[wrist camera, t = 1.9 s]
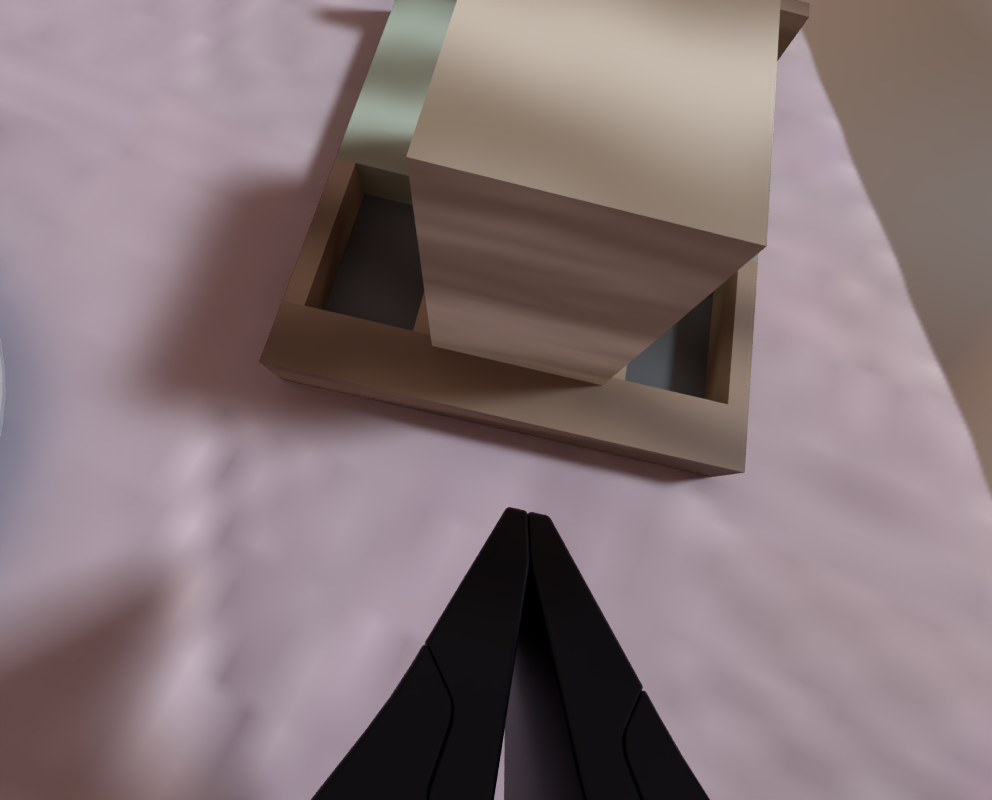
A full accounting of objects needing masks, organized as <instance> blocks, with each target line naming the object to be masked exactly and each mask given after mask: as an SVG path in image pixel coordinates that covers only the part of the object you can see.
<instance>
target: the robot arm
mask: <svg viewBox="0 0 992 800" xmlns="http://www.w3.org/2000/svg"><path fill="white" fill-rule="evenodd" d="M642 688H643V686H642V684H641V682H640V680H639V679H638V677H637V675H636V673H635V671H634V670H633V668H632V666H631V664H630V662H629V660H628V659H627V657H626V655H625V653H624V651H623V650H622V648H621V646H620V644H619V642H618V640H617V639H616V637H615V635H614V633H613V631H612V630H611V628H610V626H609V624H608V622H607V620H606V619H605V617H604V615H603V613H602V611H601V609H600V608H599V606H598V604H597V602H596V600H595V599H594V597H593V595H592V593H591V591H590V589H589V588H588V586H587V584H586V582H585V580H584V579H583V577H582V575H581V573H580V571H579V569H578V568H577V566H576V564H575V562H574V560H573V559H572V557H571V555H570V553H569V551H568V549H567V548H566V546H565V544H564V542H563V540H562V539H561V537H560V535H559V533H558V531H557V529H556V528H555V526H554V524H553V522H552V520H551V519H550V517H548V516H547V515H543V514H538V513H534V512H530V513H528V514H527V512H526V511H524V510H520V509H516V508H511V507H508V508H506V509H505V511H504V513H503V514H502V516H501V518H500V519H499V521H498V523H497V524H496V526H495V528H494V529H493V531H492V532H491V534H490V536H489V537H488V539H487V541H486V542H485V544H484V546H483V547H482V549H481V551H480V552H479V554H478V556H477V557H476V559H475V561H474V562H473V564H472V566H471V567H470V569H469V570H468V572H467V574H466V575H465V577H464V579H463V580H462V582H461V584H460V585H459V587H458V589H457V590H456V592H455V594H454V595H453V597H452V599H451V600H450V602H449V603H448V605H447V607H446V608H445V610H444V612H443V613H442V615H441V617H440V618H439V620H438V622H437V623H436V625H435V627H434V628H433V630H432V632H431V633H430V635H429V636H428V638H427V640H426V641H425V645H423V646H422V647H421V649H420V651H419V652H418V654H417V656H416V657H415V659H414V661H413V662H412V664H411V666H410V667H409V669H408V670H407V672H406V673H405V675H404V676H403V678H402V679H401V681H400V683H399V684H398V686H397V687H396V689H395V690H394V692H393V693H392V695H391V696H390V698H389V699H388V700H387V702H386V703H385V705H384V706H383V707H382V709H381V710H380V711H379V713H378V714H377V715H376V717H375V718H374V719H373V721H372V722H371V723H370V725H369V726H368V727H367V729H366V730H365V732H364V733H363V734H362V735H361V737H360V738H359V739H358V741H357V742H356V743H355V744H354V746H353V747H352V748H351V749H350V751H349V752H348V753H347V754H346V756H345V757H344V758H343V760H342V761H341V762H340V763H339V765H338V766H337V767H336V768H335V770H334V771H333V772H332V773H331V775H330V776H329V777H328V779H327V780H326V781H325V782H324V784H323V785H322V786H321V787H320V789H319V790H318V791H317V792H316V794H315V795H314V796H313V798H312V799H311V800H494V795H495V789H496V782H497V775H498V769H499V762H500V756H501V749H502V743H503V736H504V730H505V769H504V800H710V799H709V797H708V796H707V794H706V793H705V791H704V789H703V788H702V786H701V785H700V783H699V782H698V780H697V778H696V777H695V775H694V774H693V772H692V770H691V769H690V767H689V766H688V764H687V763H686V761H685V759H684V758H683V756H682V755H681V753H680V751H679V749H678V748H677V746H676V744H675V742H674V741H673V739H672V737H671V735H670V734H669V732H668V730H667V729H666V727H665V725H664V723H663V722H662V720H661V718H660V716H659V715H658V713H657V711H656V709H655V707H654V706H653V704H652V702H651V700H650V698H649V696H648V695H647V693H646V692H645V691H642Z"/></svg>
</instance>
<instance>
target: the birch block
mask: <svg viewBox="0 0 992 800" xmlns="http://www.w3.org/2000/svg"><path fill="white" fill-rule="evenodd" d="M780 2H781V0H457V2H456V5H455V8H454V11H453V14H452V17H451V20H450V23H449V27H448V30H447V33H446V36H445V39H444V42H443V45H442V48H441V51H440V54H439V57H438V60H437V63H436V67H435V70H434V73H433V76H432V79H431V82H430V85H429V88H428V91H427V94H426V97H425V100H424V104H423V107H422V110H421V113H420V116H419V119H418V122H417V125H416V128H415V131H414V134H413V137H412V141H411V144H410V147H409V150H408V153H407V156H406V159H407V166H408V174H409V181H410V188H411V196H412V203H413V210H414V218H415V225H416V232H417V240H418V247H419V254H420V262H421V269H422V276H423V284H424V291H425V298H426V306H427V313H428V320H429V328H430V335H431V342H432V346H435V347H439V348H444V349H448V350H452V351H457V352H461V353H465V354H470V355H474V356H478V357H482V358H487V359H491V360H495V361H500V362H504V363H508V364H512V365H517V366H521V367H525V368H530V369H534V370H538V371H543V372H547V373H551V374H555V375H560V376H564V377H568V378H573V379H577V380H581V381H585V382H590V383H594V384H598V385H604V384H605V383H606V382H607V381H608V380H610V379H611V378H612V377H613V376H614V375H615V374H617V373H618V372H619V371H620V370H621V369H623V368H624V367H625V366H626V365H627V364H628V363H630V362H631V361H632V360H633V359H634V358H635V357H637V356H638V355H639V354H640V353H641V352H643V351H644V350H645V349H646V348H647V347H648V346H650V345H651V344H652V343H653V342H654V341H655V340H657V339H658V338H659V337H660V336H661V335H663V334H664V333H665V332H666V331H667V330H668V329H670V328H671V327H672V326H673V325H674V324H676V323H677V322H678V321H679V320H680V319H681V318H683V317H684V316H685V315H686V314H687V313H688V312H690V311H691V310H692V309H693V308H694V307H696V306H697V305H698V304H699V303H700V302H701V301H703V300H704V299H705V298H706V297H707V296H708V295H710V294H711V293H712V292H713V291H714V290H716V289H717V288H718V287H719V286H720V285H721V284H723V283H724V282H725V281H726V280H727V279H728V278H730V277H731V276H732V275H733V274H734V273H736V272H737V271H738V270H739V269H740V268H741V267H743V266H744V265H745V264H746V263H747V262H749V261H750V260H751V259H752V258H753V257H754V256H756V255H757V254H758V253H759V252H760V251H761V250H763V249H764V248H765V247H766V246H767V231H768V213H769V196H770V178H771V160H772V143H773V125H774V108H775V90H776V72H777V55H778V37H779V20H780Z"/></svg>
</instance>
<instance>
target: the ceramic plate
mask: <svg viewBox="0 0 992 800" xmlns="http://www.w3.org/2000/svg"><path fill="white" fill-rule="evenodd" d="M5 399H6V380H5V362H4V356H3V349H2V342H1V338H0V437H1V432H2V427H3V421H4V410H5Z"/></svg>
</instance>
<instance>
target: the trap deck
mask: <svg viewBox="0 0 992 800" xmlns="http://www.w3.org/2000/svg"><path fill="white" fill-rule="evenodd" d="M456 2H457V0H395V2H394V5H393V7H392V10H391V13H390V15H389V18H388V21H387V23H386V26H385V29H384V31H383V34H382V36H381V39H380V42H379V44H378V47H377V50H376V52H375V55H374V58H373V60H372V63H371V66H370V68H369V71H368V74H367V76H366V79H365V82H364V84H363V87H362V90H361V92H360V95H359V98H358V100H357V103H356V106H355V108H354V111H353V114H352V116H351V119H350V122H349V124H348V127H347V130H346V132H345V135H344V138H343V140H342V143H341V146H340V148H339V151H338V154H337V156H336V159H335V162H334V164H333V167H332V170H331V172H330V175H329V178H328V180H327V183H326V186H325V188H324V191H323V193H322V196H321V199H320V201H319V204H318V207H317V209H316V212H315V215H314V217H313V220H312V223H311V225H310V228H309V231H308V233H307V236H306V239H305V241H304V244H303V247H302V249H301V252H300V255H299V257H298V260H297V263H296V265H295V268H294V271H293V273H292V276H291V279H290V281H289V284H288V287H287V289H286V292H285V295H284V297H283V300H282V303H281V305H280V308H279V311H278V313H277V316H276V319H275V321H274V324H273V327H272V329H271V332H270V335H269V337H268V340H267V343H266V345H265V348H264V350H263V353H262V356H261V358H260V361H259V362H260V363H262V364H263V365H264V366H265V367H267V368H268V369H269V370H271V371H272V372H273V373H275V374H276V375H277V376H279V377H280V378H281V379H285V380H290V381H294V382H299V383H303V384H307V385H312V386H316V387H321V388H325V389H329V390H334V391H338V392H343V393H347V394H351V395H356V396H360V397H365V398H369V399H373V400H378V401H382V402H387V403H391V404H395V405H400V406H404V407H409V408H413V409H417V410H422V411H426V412H431V413H435V414H439V415H444V416H448V417H453V418H457V419H461V420H466V421H470V422H475V423H479V424H483V425H488V426H492V427H497V428H501V429H505V430H510V431H514V432H519V433H523V434H527V435H532V436H536V437H541V438H545V439H549V440H554V441H558V442H563V443H567V444H571V445H576V446H580V447H585V448H589V449H593V450H598V451H602V452H607V453H611V454H615V455H620V456H624V457H629V458H633V459H637V460H642V461H646V462H651V463H655V464H659V465H664V466H668V467H673V468H677V469H681V470H686V471H690V472H694V473H699V474H703V475H708V476H712V477H715V476H722V475H730V474H737V473H745V458H746V442H747V426H748V410H749V394H750V377H751V361H752V345H753V329H754V313H755V297H756V281H757V265H758V254H757V255H756V256H754V257H753V258H752V259H751V260H750V261H749V262H747V263H746V264H745V265H744V266H743V267H741V268H740V269H739V270H738V271H737V272H736V273H734V274H733V275H732V276H731V277H730V278H728V279H727V280H726V281H725V282H724V283H723V284H721V285H720V286H719V287H718V288H717V289H716V290H714V291H713V292H712V293H711V294H710V295H708V296H707V297H706V298H705V299H704V300H703V301H701V302H700V303H699V304H698V305H697V306H696V307H694V308H693V309H692V310H691V311H690V312H688V313H687V314H686V315H685V316H684V317H683V318H681V319H680V320H679V321H678V322H677V323H676V324H674V325H673V326H672V327H671V328H670V329H668V330H667V331H666V332H665V333H664V334H663V335H661V336H660V337H659V338H658V339H657V340H655V341H654V342H653V343H652V344H651V345H650V346H648V347H647V348H646V349H645V350H644V351H643V352H641V353H640V354H639V355H638V356H637V357H635V358H634V359H633V360H632V361H631V362H630V363H628V364H627V365H626V366H625V367H624V368H623V369H621V370H620V371H619V372H618V373H617V374H615V375H614V376H613V377H612V378H611V379H610V380H608V381H607V382H606V383H605V384H604V385H598V384H594V383H590V382H585V381H581V380H577V379H573V378H568V377H564V376H560V375H555V374H551V373H547V372H543V371H538V370H534V369H530V368H525V367H521V366H517V365H512V364H508V363H504V362H500V361H495V360H491V359H487V358H482V357H478V356H474V355H470V354H465V353H461V352H457V351H452V350H448V349H444V348H439V347H435V346H432V342H431V335H430V328H429V320H428V313H427V306H426V298H425V291H424V284H423V276H422V269H421V262H420V254H419V247H418V240H417V232H416V225H415V218H414V210H413V203H412V196H411V188H410V181H409V174H408V166H407V159H406V156H407V153H408V150H409V147H410V144H411V141H412V137H413V134H414V131H415V128H416V125H417V122H418V119H419V116H420V113H421V110H422V107H423V104H424V100H425V97H426V94H427V91H428V88H429V85H430V82H431V79H432V76H433V73H434V70H435V67H436V63H437V60H438V57H439V54H440V51H441V48H442V45H443V42H444V39H445V36H446V33H447V30H448V27H449V23H450V20H451V17H452V14H453V11H454V8H455V5H456ZM808 18H809V3H806V2H802V1H798V0H781V2H780V20H779V37H778V55H777V61H778V60H779V58H780V57H781V55H782V54H783V53H784V51H785V50H786V48H787V47H788V46H789V44H790V43H791V41H792V40H793V39H794V37H795V36H796V34H797V33H798V32H799V30H800V29H801V27H802V26H803V25H804V23H805V22H806V20H807V19H808Z"/></svg>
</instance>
